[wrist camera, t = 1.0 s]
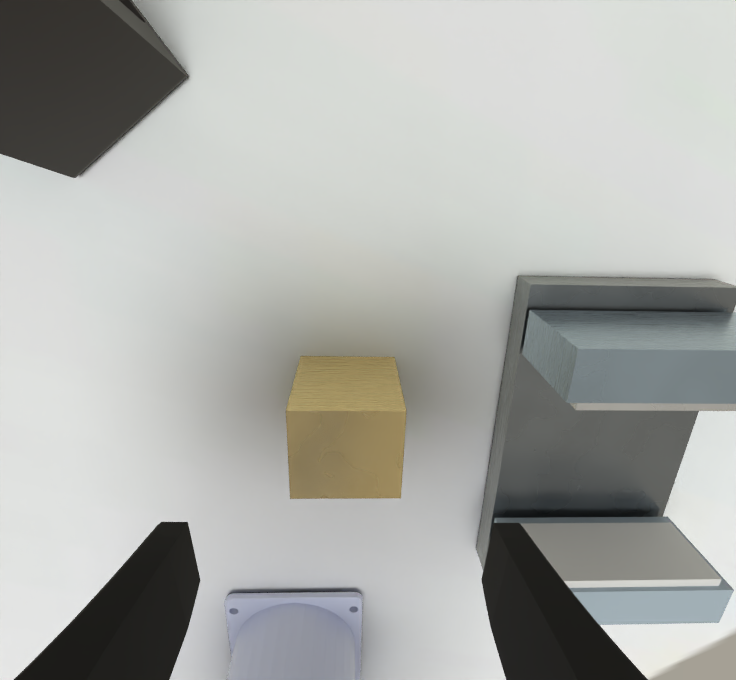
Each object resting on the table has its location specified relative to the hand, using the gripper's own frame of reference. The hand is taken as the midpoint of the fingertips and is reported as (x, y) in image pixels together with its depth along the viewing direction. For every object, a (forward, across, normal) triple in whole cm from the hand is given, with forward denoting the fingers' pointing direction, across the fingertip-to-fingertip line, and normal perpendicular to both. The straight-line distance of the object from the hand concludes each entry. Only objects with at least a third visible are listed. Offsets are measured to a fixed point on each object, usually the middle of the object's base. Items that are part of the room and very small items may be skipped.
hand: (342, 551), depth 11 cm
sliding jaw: (+9, -12, +9) cm, 17 cm away
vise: (+11, -12, +5) cm, 17 cm away
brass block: (+11, 0, +3) cm, 11 cm away
